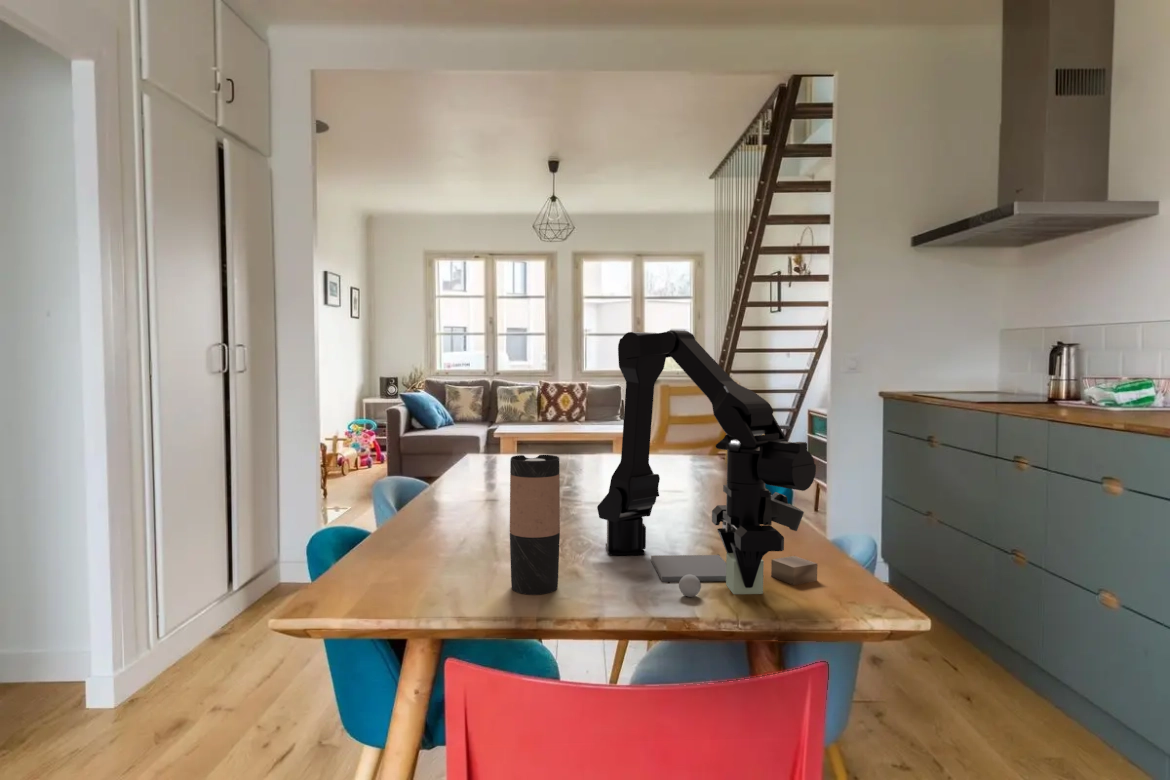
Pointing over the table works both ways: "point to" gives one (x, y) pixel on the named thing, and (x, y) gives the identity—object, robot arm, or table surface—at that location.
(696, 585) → the grey ball
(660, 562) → the plate
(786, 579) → the walnut block
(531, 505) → the travel mug
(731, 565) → the sage block
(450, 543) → the table surface
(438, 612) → the table surface
